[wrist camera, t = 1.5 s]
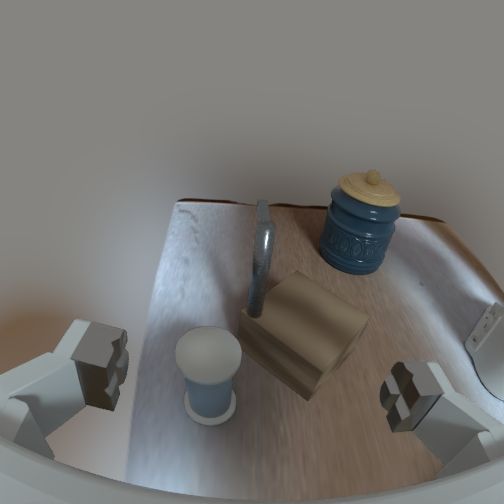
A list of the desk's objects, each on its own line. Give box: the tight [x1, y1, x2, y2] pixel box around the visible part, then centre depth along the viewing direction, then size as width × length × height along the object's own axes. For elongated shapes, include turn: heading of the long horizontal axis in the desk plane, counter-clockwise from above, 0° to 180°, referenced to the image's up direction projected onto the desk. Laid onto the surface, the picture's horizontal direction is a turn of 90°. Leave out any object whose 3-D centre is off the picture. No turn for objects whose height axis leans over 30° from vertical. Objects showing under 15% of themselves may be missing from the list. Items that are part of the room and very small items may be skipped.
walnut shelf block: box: [238, 271, 370, 401], centre depth 40 cm, size 11×12×7 cm
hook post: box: [247, 200, 276, 318], centre depth 35 cm, size 2×6×12 cm, turn 2°
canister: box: [320, 170, 401, 275], centre depth 55 cm, size 13×13×18 cm
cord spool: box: [175, 326, 242, 426], centre depth 31 cm, size 6×6×11 cm
